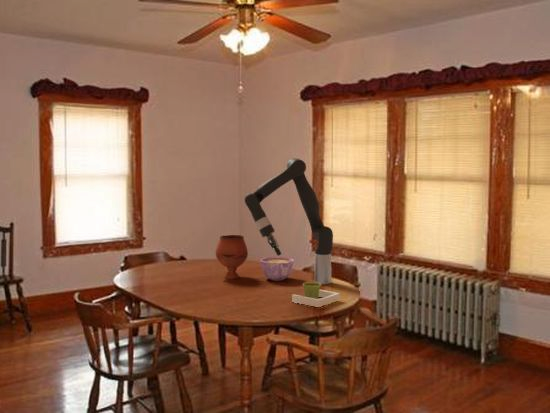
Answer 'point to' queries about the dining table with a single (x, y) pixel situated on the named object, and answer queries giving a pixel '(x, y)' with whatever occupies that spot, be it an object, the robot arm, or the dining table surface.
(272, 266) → the bowl of food
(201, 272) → the dining table surface
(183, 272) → the dining table surface
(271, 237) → the robot arm
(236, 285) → the dining table surface
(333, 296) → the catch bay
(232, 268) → the goblet
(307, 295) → the plant pot
